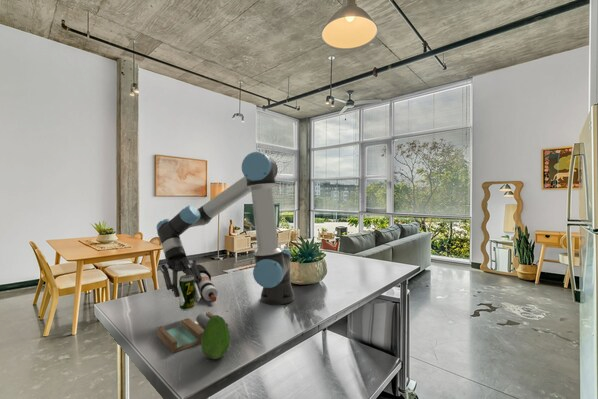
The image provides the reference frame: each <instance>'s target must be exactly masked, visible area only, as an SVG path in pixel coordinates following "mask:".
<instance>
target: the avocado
mask: <svg viewBox="0 0 598 399" xmlns="http://www.w3.org/2000/svg"><path fill="white" fill-rule="evenodd" d="M225 322H226V321H225V319H224V317H222V316H220V315H216V314H215V316H212V317H211V318H210V319H209V321H208V323H207V325H206V327H205V329H204V332H203V335H202V338H201V343H200V347H201V350H202V353H203V355H205V357H206V358H208V359H210V360H218V359H219V358H222V357H223V356H224V355H225V354H226V353H227V351H228V349H229V347H230V342H231V334H230V330H229V326H228V327H227V325H226V323H227V322H226V323H225Z"/></svg>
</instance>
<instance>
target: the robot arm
mask: <svg viewBox="0 0 598 399" xmlns="http://www.w3.org/2000/svg"><path fill="white" fill-rule="evenodd" d="M241 172H242V174H243V175H244V176H243V177H241V178H240V179H239V180H236V181H235V182H234V183H232V185H230V186H228V187H227V188H226V189H223V191H221V192H219V193H218V194H217V195H216V196H214V197H213V198H211V199H210V200H208V201H207V202H206V203H204V204H203V205H201V206H200V207H199V208H196V207H195V206H193V205H187V206H185V207H184V208H182V209H181V210H180V211H179V212H178V213H177V214H176V215H175V216H174V217H173V218H165V219H163V220H160V221H159V222H158V223H157V224H156V233H157V236H158V238H159V241H160V244H161V248H162V251H163V254H164V257H165V261H166V264H161V265H160V271H161V272H162V275H163V279H164V283H165V287H166V289H167V291H170V290H171V291H172V292H173V295H174V296H175V298H178V301H179V306H180V305H181V306H182V305H183V304H184V302H185V300H184V297H183V294H182V291H181V288H180V286H179V285H178V280H179V279H178V274H179V272H182V273H183V274H185V275H194V285H195V300H196V302H200V300H201V298H202V295H201V293H200V292H199V291H200V286H199V284H198V283H200V282H201V280H202V277H201V275H200V272H199V270H198V268H197V265H196V264H197V260H196V259H192V260H190V259H189V258H188V257H187V254H186V251H185V248H184V245H183V242H182V240H181V237H180V236H181V235H182V234H184V233H185V232H186V231H187V230H189V229H190V228H194V227H199V226H205V225H207V224H210V222H211V221H212V220H213V219H214V218H215V217H217V216H218V215H219V214H221V213H222V212H224V211H226V210H227V209H228V208H229V207H231V206H233V205H234V204H235V203H237V202H239V201H240V200H241V199H243V198H244V197H246V196H247V195H249V194H250V193H251V199H252V210H253V219H254V227H255V228H254V229H255V237H256V238H255V239H256V248H257V250H256V251H255V252H254V263H255V264H254V266H253V268H252V276H253V279H254V281H255V283H257V285H258V286H260V287H262V290H261V293H260V301H261V302H262V303H264V304H267V305H273V306H274V305H278V306H279V305H286V304H289V303H291V302H293V301H294V300H295V292H294V289H293V286H292V283H291V251H290V249H289V248H281V247H280V246H279V238H278V228H277V221H276V210H275V200H274V195H273V192H274V191H273V188H274V187H275V186H276V177H277V175H278V172H279V170H278V164H277V162H276V161H275V159H273V158H272V157H271V156H269V155H268V154H266V153H265V152H262V151H261V152H260V151H254V152H251V153H248V154H247V155H246V156H244V158H243V160H242V163H241ZM190 267H191V268H192V271H193V273H194V274H193V273H192V272H191V270H190V269H189V268H190ZM169 269H170V270H171V271H172V272H171V273H172V279H171V277H170V272H169ZM171 280H172V281H171Z"/></svg>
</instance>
